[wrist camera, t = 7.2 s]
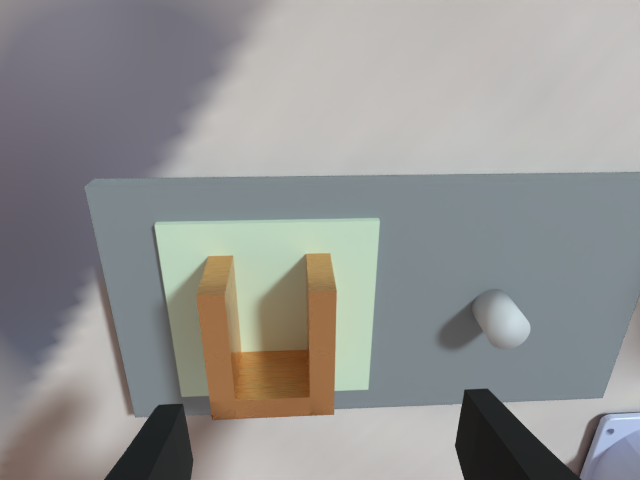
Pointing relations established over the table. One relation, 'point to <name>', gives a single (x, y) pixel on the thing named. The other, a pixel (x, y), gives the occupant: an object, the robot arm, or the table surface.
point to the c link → (267, 366)
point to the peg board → (380, 279)
